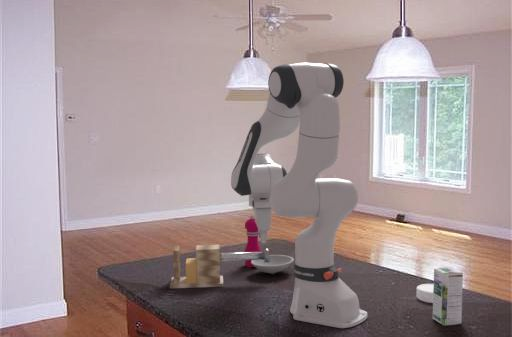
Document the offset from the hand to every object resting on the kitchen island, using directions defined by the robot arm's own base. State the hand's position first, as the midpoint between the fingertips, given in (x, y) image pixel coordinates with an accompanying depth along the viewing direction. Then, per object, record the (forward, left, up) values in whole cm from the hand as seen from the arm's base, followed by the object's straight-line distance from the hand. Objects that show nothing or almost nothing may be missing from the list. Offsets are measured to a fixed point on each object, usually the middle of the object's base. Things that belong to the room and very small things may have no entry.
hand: (262, 240), depth 187 cm
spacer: (+18, +17, -10) cm, 27 cm away
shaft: (+8, +7, -8) cm, 13 cm away
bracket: (+17, +16, -15) cm, 27 cm away
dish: (+4, -10, -15) cm, 18 cm away
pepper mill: (+17, -14, -15) cm, 26 cm away
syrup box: (-64, -2, -15) cm, 66 cm away
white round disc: (-53, -19, -15) cm, 58 cm away
